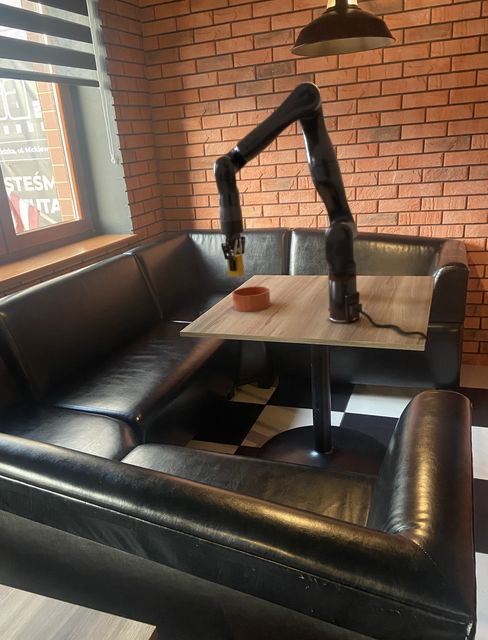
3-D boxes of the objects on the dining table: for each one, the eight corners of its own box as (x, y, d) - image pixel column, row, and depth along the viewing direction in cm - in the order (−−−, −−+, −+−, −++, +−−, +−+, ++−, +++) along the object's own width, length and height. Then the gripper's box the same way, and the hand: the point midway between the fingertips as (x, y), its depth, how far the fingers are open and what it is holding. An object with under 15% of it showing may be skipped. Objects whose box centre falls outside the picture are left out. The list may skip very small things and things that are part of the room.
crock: (277, 304, 208) (276, 289, 205) (250, 313, 199) (249, 298, 197) (253, 299, 218) (252, 284, 216) (226, 307, 210) (225, 293, 208)
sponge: (244, 274, 186) (242, 254, 184) (239, 277, 183) (237, 256, 181) (234, 274, 188) (232, 254, 186) (228, 276, 185) (226, 256, 182)
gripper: (231, 221, 171) (236, 274, 177) (250, 215, 183) (254, 264, 189) (211, 222, 175) (217, 274, 181) (230, 216, 186) (235, 264, 192)
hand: (236, 269), depth 185 cm, fingers closed on sponge, 4 cm apart
